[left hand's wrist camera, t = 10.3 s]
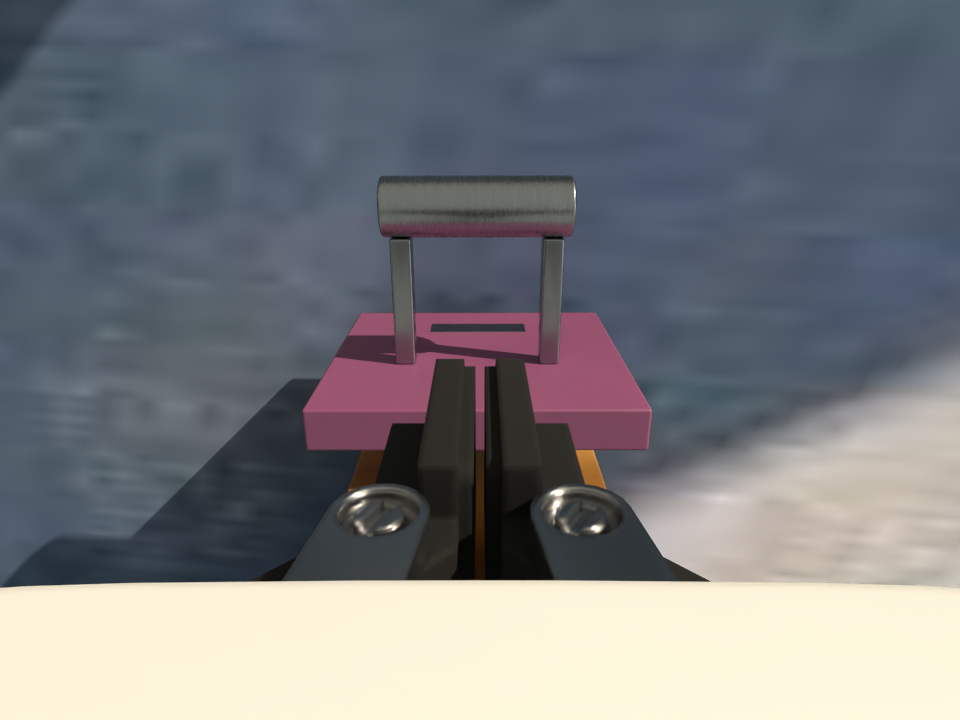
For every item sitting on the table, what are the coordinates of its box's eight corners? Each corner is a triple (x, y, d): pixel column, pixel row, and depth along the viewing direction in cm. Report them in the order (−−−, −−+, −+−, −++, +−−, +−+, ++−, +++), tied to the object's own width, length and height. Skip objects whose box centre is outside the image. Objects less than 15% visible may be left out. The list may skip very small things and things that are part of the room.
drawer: (348, 162, 22) (275, 189, 14) (606, 162, 22) (676, 189, 14) (386, 670, 30) (353, 864, 23) (572, 669, 30) (603, 864, 23)
